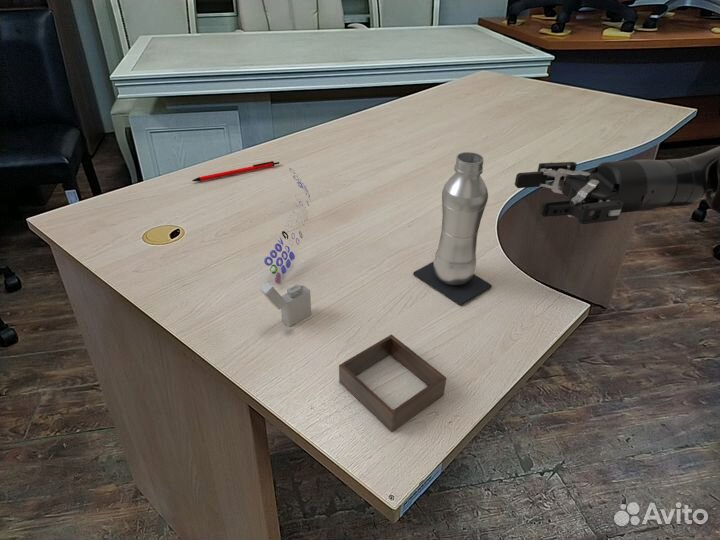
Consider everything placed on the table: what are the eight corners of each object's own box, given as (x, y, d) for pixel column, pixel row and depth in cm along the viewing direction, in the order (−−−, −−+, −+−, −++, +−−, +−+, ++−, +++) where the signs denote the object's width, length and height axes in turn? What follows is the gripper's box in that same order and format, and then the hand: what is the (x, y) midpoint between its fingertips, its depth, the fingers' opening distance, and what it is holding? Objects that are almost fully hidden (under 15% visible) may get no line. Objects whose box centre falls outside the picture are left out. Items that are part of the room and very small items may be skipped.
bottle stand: (444, 394, 64) (446, 377, 62) (391, 432, 59) (392, 415, 57) (390, 350, 70) (391, 334, 68) (339, 382, 65) (338, 365, 63)
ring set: (318, 298, 82) (288, 244, 74) (253, 302, 86) (219, 251, 78) (351, 195, 98) (329, 143, 90) (296, 203, 102) (270, 153, 95)
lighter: (304, 308, 76) (301, 263, 72) (312, 314, 75) (309, 268, 71) (263, 330, 73) (257, 284, 68) (271, 337, 71) (265, 290, 67)
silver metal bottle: (472, 266, 84) (492, 148, 72) (475, 293, 79) (497, 170, 67) (431, 263, 85) (444, 146, 73) (432, 289, 79) (446, 167, 68)
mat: (491, 287, 81) (492, 284, 80) (461, 306, 77) (461, 303, 77) (443, 258, 87) (443, 255, 87) (413, 274, 83) (413, 271, 83)
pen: (280, 165, 115) (279, 160, 114) (192, 183, 108) (191, 178, 107) (278, 163, 116) (278, 159, 115) (191, 181, 108) (190, 176, 108)
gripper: (612, 143, 81) (513, 149, 79) (672, 185, 70) (558, 194, 67) (598, 187, 85) (504, 194, 83) (653, 233, 74) (545, 243, 72)
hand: (528, 194), depth 75 cm, fingers open, 8 cm apart
